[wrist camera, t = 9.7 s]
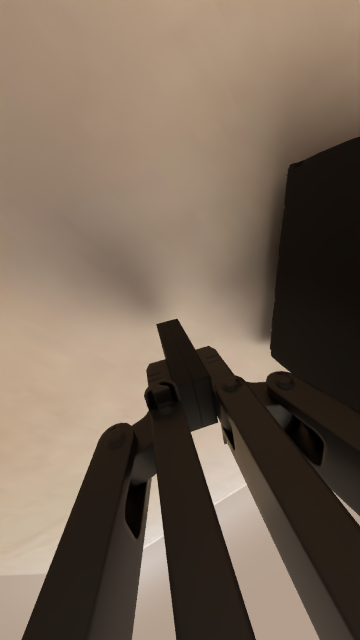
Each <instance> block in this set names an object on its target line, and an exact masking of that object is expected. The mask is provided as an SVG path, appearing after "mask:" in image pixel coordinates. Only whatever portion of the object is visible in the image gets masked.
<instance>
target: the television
mask: <svg viewBox="0 0 360 640" xmlns="http://www.w3.org/2000/svg"><path fill="white" fill-rule="evenodd" d="M284 206H285V208H284V213H283V223H282V231H281V239H280V248H279V261H278V269H277V278H276V287H275V302H274V310H273V318H272V332H271V344H270V349H271V356H272V357H273V358H274V359H275V360H276V361H277V362H279V363H280V364H281V365H282V366H283V367H285V368H286V369H287V370H288V371H290V372H291V373H292V374H294V375H296V376H298V377H300V378H301V379H303V380H305V381H307V382H308V383H310V384H312V385H314V386H315V387H317V388H319V389H321V390H322V391H324V392H326V393H328V394H329V395H331V396H333V397H335V398H336V399H338V400H340V401H342V402H343V403H345V404H347V405H349V406H350V407H352V408H354V409H356V410H357V411H359V412H360V137H357V138H354V139H352V140H349V141H347V142H344V143H342V144H339V145H337V146H335V147H332V148H330V149H327V150H325V151H322V152H320V153H318V154H316V155H314V156H312V157H310V158H308V159H306V160H303V161H300V162H297V163H293V164H290V166H289V168H288V175H287V182H286V192H285V203H284Z"/></svg>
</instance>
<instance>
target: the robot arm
mask: <svg viewBox="0 0 360 640" xmlns="http://www.w3.org/2000/svg"><path fill="white" fill-rule="evenodd" d="M156 325H157V329H158V332H159V336H160V340H161V344H162V347H163V351H164V355H165V360H161V361H158V362H154V363H151V364H149V366H148V368H147V370H146V371H147V379H148V388H147V389H146V391H145V394H144V397H145V400H146V403H147V406H148V409H149V411H148V413H147V414H146V415H145V417H144V418H142V419H141V420H140V421H138V422H137V423H135V424H134V425H132V426H131V425H129V424H128V423H119V424H115V425H113V426H111V427H110V428H108V429H107V430H106V431H105V432H104V433H103V434H102V436H101V438H100V439H99V441H98V444H97V447H96V449H95V452H94V454H93V457H92V459H91V462H90V465H89V467H88V470H87V472H86V475H85V478H84V480H83V483H82V485H81V488H80V490H79V493H78V496H77V498H76V501H75V503H74V506H73V508H72V511H71V514H70V516H69V519H68V521H67V524H66V526H65V529H64V532H63V534H62V537H61V539H60V542H59V545H58V547H57V550H56V552H55V555H54V557H53V560H52V563H51V565H50V568H49V570H48V573H47V575H46V578H45V581H44V583H43V586H42V588H41V591H40V594H39V596H38V599H37V601H36V604H35V607H34V609H33V612H32V614H31V617H30V619H29V622H28V624H27V627H26V630H25V632H24V635H23V637H22V640H132V633H133V625H134V617H135V609H136V600H137V593H138V585H139V576H140V568H141V560H142V552H143V544H144V536H145V528H146V520H147V512H148V504H149V495H150V487H151V477H153V476H154V475H155V474H157V480H158V488H159V497H160V505H161V514H162V522H163V530H164V539H165V547H166V555H167V564H168V573H169V581H170V590H171V598H172V607H173V615H174V623H175V631H176V640H256V639H255V635H254V632H253V629H252V626H251V623H250V620H249V616H248V613H247V610H246V607H245V604H244V601H243V597H242V594H241V591H240V588H239V585H238V581H237V578H236V576H235V572H234V569H233V566H232V562H231V559H230V556H229V553H228V550H227V546H226V544H225V540H224V537H223V534H222V531H221V527H220V524H219V521H218V518H217V515H216V511H215V509H214V505H213V502H212V499H211V496H210V492H209V489H208V486H207V483H206V480H205V476H204V473H203V470H202V467H201V464H200V461H199V457H198V454H197V451H196V448H195V445H194V442H193V438H192V435H191V432H192V431H194V430H197V429H200V428H203V427H206V426H209V425H212V424H215V423H218V418H219V420H220V422H221V427H222V433H223V439H224V444H227V443H228V445H229V447H230V449H231V451H232V453H233V456H234V458H235V460H236V462H237V464H238V466H239V468H240V471H241V473H242V475H243V477H244V479H245V481H246V483H247V485H248V488H249V490H250V492H251V494H252V496H253V498H254V500H255V502H256V505H257V507H258V509H259V511H260V513H261V515H262V517H263V520H264V522H265V524H266V526H267V528H268V530H269V532H270V534H271V537H272V539H273V541H274V543H275V545H276V547H277V549H278V551H279V553H280V555H281V558H282V560H283V562H284V564H285V566H286V568H287V571H288V573H289V575H290V577H291V579H292V581H293V583H294V585H295V588H296V590H297V592H298V594H299V596H300V598H301V600H302V603H303V605H304V607H305V609H306V611H307V613H308V615H309V617H310V620H311V622H312V624H313V626H314V628H315V630H316V632H317V634H318V636H319V639H320V640H360V526H359V524H358V523H357V522H356V521H355V519H354V518H353V517H352V516H351V514H350V513H349V512H348V511H347V509H346V508H345V507H344V506H343V504H342V503H341V502H340V500H339V499H338V498H337V497H336V495H335V494H334V493H333V492H335V493H336V494H337V495H338V496H339V497H340V498H341V499H342V500H343V501H344V502H345V503H346V504H347V505H349V506H350V507H351V508H352V509H353V510H354V511H355V512H356V513H357V514H358V515H359V516H360V412H359V411H357V410H356V409H354V408H352V407H350V406H349V405H347V404H345V403H343V402H342V401H340V400H338V399H336V398H335V397H333V396H331V395H329V394H328V393H326V392H324V391H322V390H321V389H319V388H317V387H315V386H314V385H312V384H310V383H308V382H307V381H305V380H303V379H301V378H300V377H298V376H296V375H294V374H292V373H289V372H284V371H279V372H274V373H271V374H270V375H268V376H267V379H266V382H257V383H250V382H246V381H245V380H244V379H242V378H241V377H239V376H236V375H234V374H233V372H232V371H231V370H230V368H229V367H228V366H227V364H226V363H225V362H224V360H222V358H221V356H219V354H218V352H217V351H216V350H215V349H213V348H211V347H210V346H207V347H203V348H200V349H197V350H195V348H194V347H193V345H192V343H191V341H190V340H189V338H188V336H187V334H186V333H185V331H184V329H183V328H182V326H181V324H180V322H179V321H178V319H174V320H170V321H167V322H163V323H159V324H156ZM217 416H218V418H217Z"/></svg>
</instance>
